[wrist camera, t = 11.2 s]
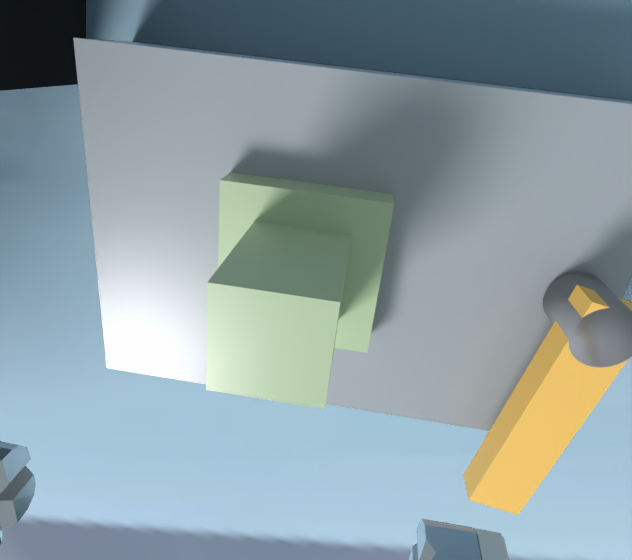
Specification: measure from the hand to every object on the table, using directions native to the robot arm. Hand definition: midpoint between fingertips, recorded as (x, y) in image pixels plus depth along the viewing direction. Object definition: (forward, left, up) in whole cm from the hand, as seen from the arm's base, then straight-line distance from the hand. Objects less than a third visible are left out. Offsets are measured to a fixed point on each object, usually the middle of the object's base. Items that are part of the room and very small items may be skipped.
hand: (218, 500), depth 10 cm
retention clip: (+11, -4, -13) cm, 18 cm away
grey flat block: (+2, 0, -18) cm, 18 cm away
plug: (0, 0, -16) cm, 16 cm away
